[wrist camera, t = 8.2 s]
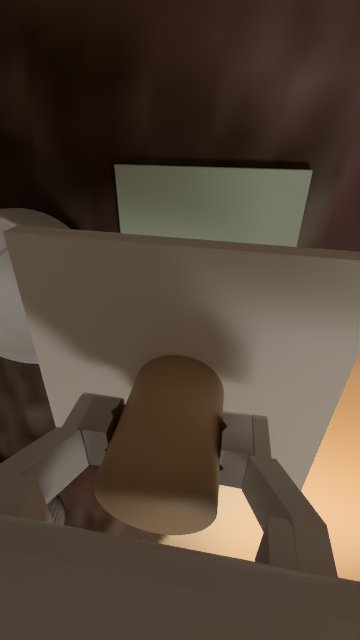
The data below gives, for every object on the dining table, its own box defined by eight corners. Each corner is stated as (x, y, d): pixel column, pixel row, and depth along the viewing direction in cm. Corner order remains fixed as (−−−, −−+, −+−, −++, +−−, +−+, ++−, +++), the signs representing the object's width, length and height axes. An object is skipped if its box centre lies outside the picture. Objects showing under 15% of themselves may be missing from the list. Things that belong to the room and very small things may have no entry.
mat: (116, 164, 20) (114, 165, 20) (311, 169, 19) (312, 170, 18) (131, 331, 27) (130, 334, 27) (274, 345, 26) (274, 348, 25)
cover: (17, 225, 11) (-136, 293, 6) (384, 253, 9) (513, 366, 5) (71, 444, 17) (12, 555, 13) (295, 481, 16) (317, 620, 11)
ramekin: (-17, 164, 22) (-83, 174, 17) (130, 239, 23) (105, 267, 18) (-28, 290, 28) (-79, 322, 23) (89, 345, 29) (62, 385, 24)
